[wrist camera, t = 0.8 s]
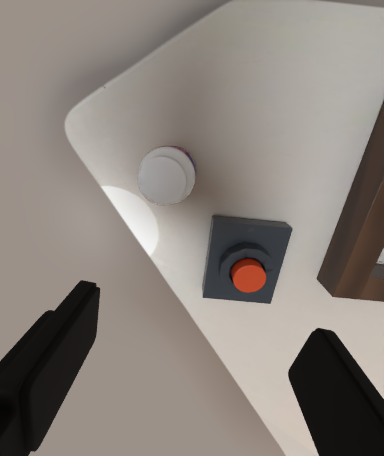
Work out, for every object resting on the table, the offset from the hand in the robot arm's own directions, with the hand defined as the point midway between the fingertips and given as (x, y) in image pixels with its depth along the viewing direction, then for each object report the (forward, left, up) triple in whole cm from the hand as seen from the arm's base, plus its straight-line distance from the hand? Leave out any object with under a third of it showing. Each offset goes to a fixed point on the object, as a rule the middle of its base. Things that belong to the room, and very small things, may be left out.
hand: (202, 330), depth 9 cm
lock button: (+7, +7, -16) cm, 19 cm away
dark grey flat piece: (+7, +7, -20) cm, 22 cm away
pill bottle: (-4, -3, -20) cm, 21 cm away
